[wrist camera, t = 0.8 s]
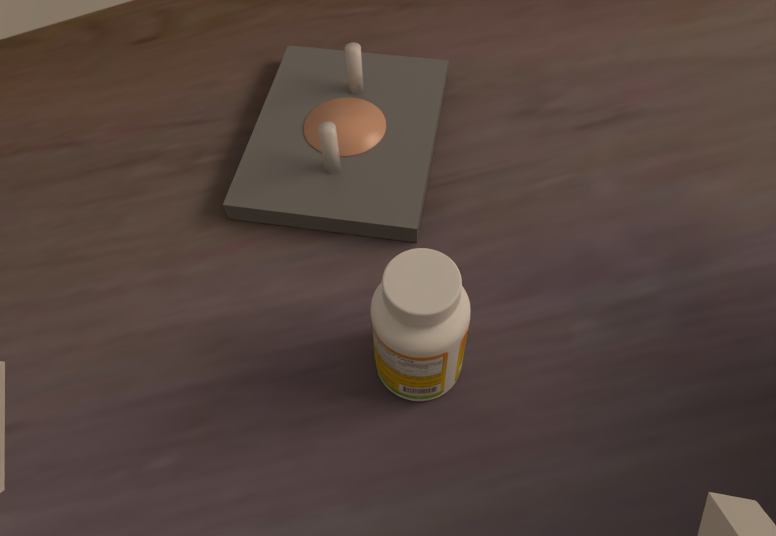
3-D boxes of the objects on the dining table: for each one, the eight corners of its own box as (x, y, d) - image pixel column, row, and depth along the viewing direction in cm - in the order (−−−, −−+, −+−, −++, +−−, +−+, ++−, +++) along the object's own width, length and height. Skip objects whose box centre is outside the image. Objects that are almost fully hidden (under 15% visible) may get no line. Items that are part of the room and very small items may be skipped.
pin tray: (447, 75, 54) (451, 18, 49) (416, 242, 44) (418, 190, 39) (290, 60, 55) (280, 3, 51) (228, 218, 46) (207, 166, 41)
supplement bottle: (421, 309, 41) (425, 218, 33) (479, 366, 39) (499, 283, 31) (358, 358, 39) (345, 275, 31) (415, 421, 37) (417, 348, 29)
